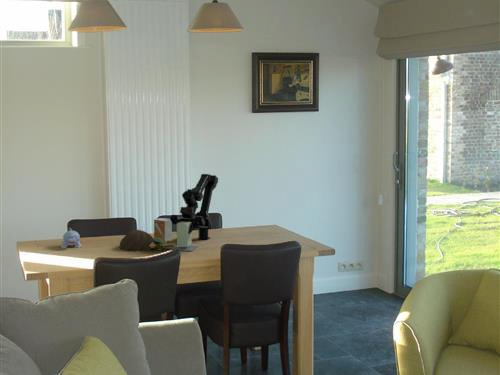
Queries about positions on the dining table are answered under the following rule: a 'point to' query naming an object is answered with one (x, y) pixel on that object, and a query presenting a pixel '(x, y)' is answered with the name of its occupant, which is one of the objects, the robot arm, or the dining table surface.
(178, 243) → the sage block
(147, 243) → the decorative dome
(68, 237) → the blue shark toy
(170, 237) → the small box
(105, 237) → the dining table surface
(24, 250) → the dining table surface
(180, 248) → the slate mat
